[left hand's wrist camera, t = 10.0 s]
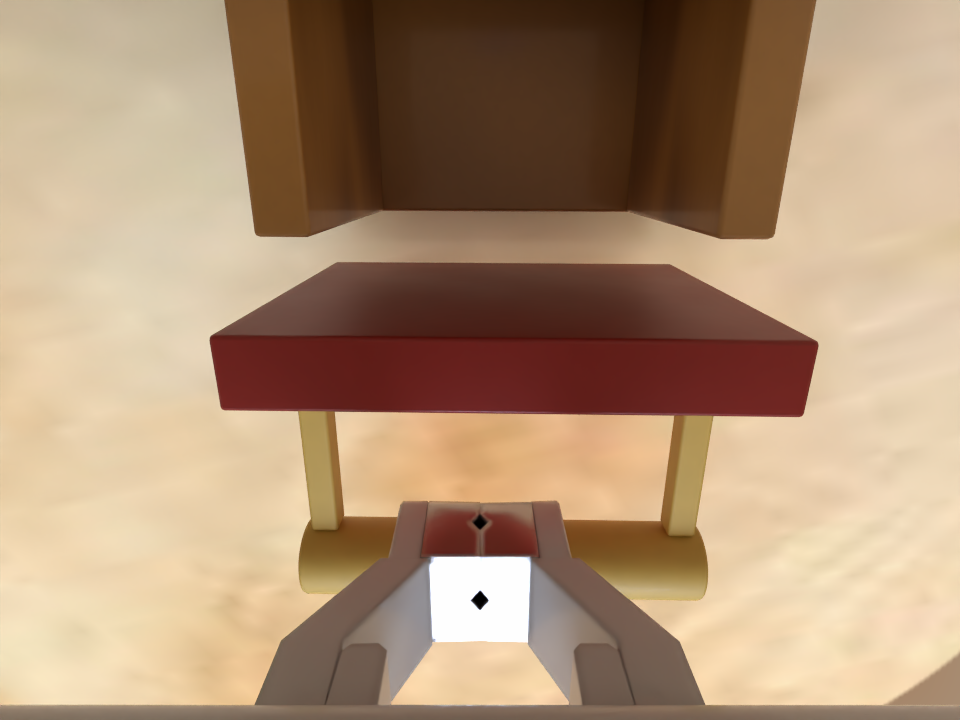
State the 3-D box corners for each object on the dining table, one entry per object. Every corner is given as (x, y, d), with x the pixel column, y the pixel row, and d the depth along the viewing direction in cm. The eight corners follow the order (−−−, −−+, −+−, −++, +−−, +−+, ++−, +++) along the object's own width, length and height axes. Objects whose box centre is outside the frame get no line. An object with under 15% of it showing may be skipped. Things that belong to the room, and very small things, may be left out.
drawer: (644, 495, 16) (743, 704, 10) (353, 490, 16) (265, 694, 10) (750, -383, 10) (1198, -1347, 4) (279, -375, 10) (-73, -1284, 4)
